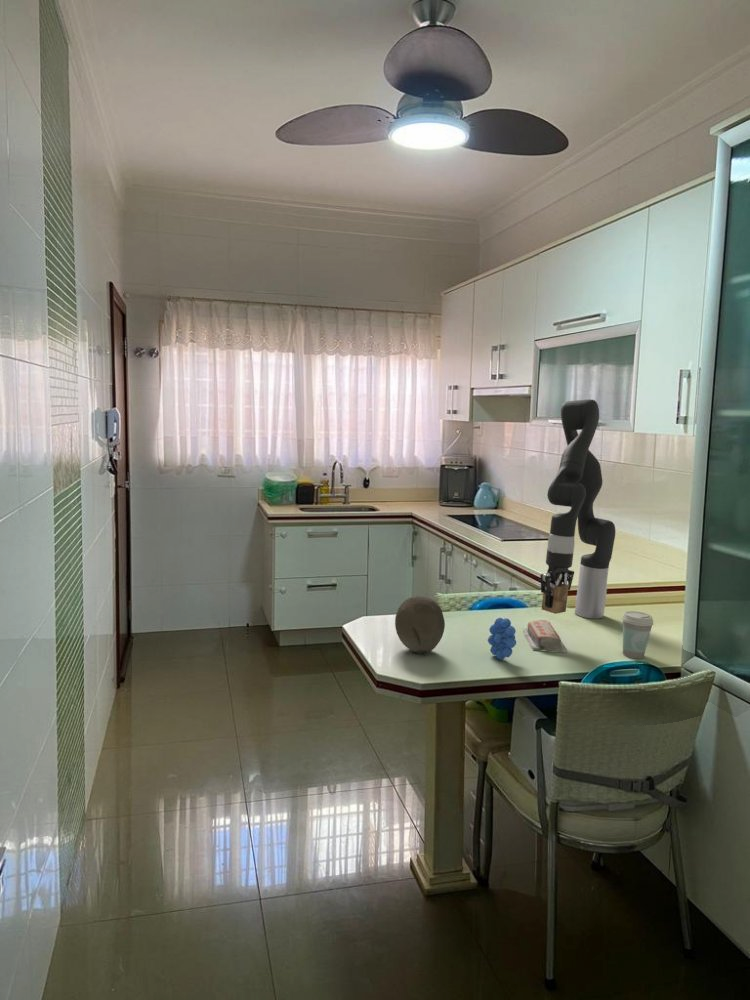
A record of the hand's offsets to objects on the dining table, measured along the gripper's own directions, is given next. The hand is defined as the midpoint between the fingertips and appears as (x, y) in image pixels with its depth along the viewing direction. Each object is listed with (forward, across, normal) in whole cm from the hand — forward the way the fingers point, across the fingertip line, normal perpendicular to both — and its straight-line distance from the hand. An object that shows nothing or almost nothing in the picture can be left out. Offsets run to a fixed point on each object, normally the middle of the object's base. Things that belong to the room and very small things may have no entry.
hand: (554, 605), depth 215 cm
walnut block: (+1, 0, 0) cm, 1 cm away
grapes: (+11, +25, +2) cm, 27 cm away
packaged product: (+12, +2, -1) cm, 12 cm away
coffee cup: (+11, -12, +20) cm, 26 cm away
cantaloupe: (+11, +41, -15) cm, 45 cm away
